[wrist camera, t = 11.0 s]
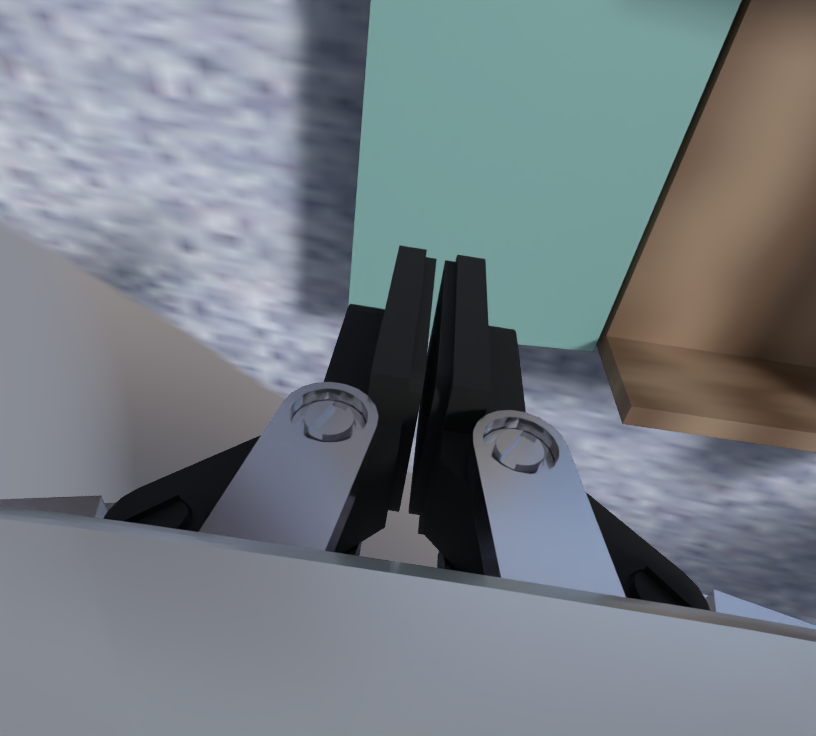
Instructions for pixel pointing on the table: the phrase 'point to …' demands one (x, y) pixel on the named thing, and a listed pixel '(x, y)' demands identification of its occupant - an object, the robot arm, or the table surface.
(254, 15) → the table surface
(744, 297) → the brown open box
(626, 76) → the panel
